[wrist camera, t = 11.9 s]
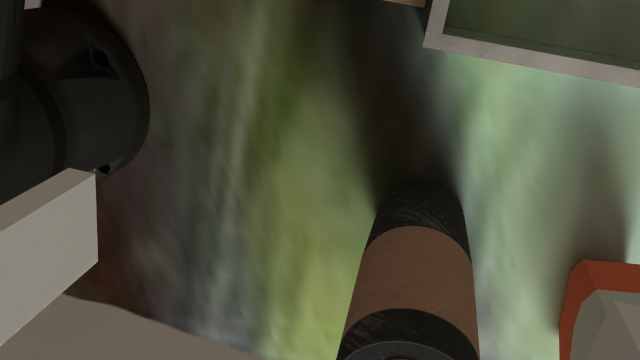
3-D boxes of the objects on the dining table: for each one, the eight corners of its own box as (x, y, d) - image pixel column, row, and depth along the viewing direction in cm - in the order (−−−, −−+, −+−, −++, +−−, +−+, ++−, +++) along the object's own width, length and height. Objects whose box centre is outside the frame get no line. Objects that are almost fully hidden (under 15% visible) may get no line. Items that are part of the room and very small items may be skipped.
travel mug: (357, 228, 45) (301, 406, 27) (406, 159, 42) (379, 309, 24) (432, 274, 45) (426, 481, 27) (487, 209, 42) (521, 396, 24)
